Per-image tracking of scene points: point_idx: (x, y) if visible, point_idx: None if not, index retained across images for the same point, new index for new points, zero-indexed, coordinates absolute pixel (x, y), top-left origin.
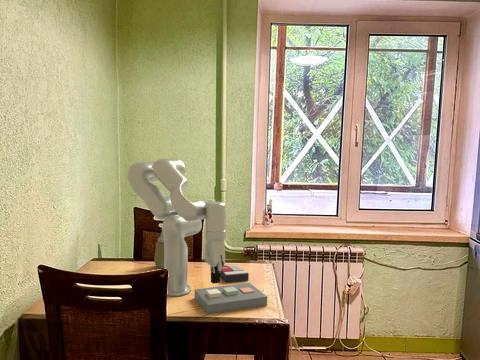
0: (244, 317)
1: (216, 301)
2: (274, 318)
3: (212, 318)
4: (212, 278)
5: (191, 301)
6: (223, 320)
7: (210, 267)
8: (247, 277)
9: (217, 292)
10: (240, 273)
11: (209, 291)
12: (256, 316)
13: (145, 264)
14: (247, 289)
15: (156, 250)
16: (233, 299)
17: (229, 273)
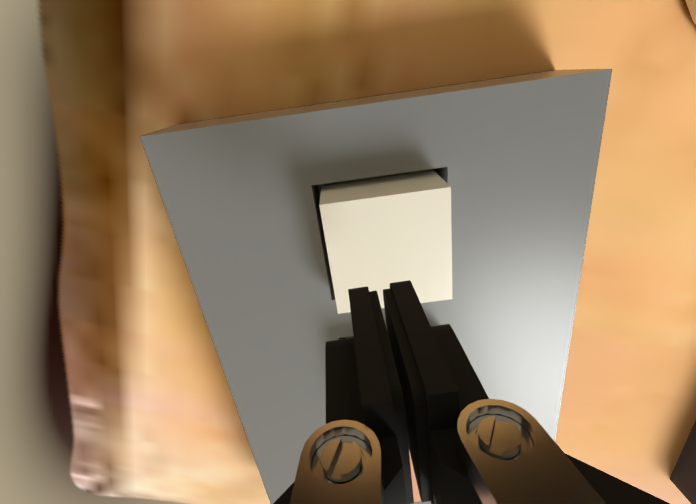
0: (125, 353)
1: (225, 234)
2: (118, 474)
3: (98, 146)
4: (353, 334)
5: (488, 22)
6: (67, 221)
7: (582, 480)
8: (690, 497)
9: (350, 285)
10: None
11: (398, 214)
12: (142, 411)
13: None
14: (412, 481)
15: None
16: (257, 367)
17: None
